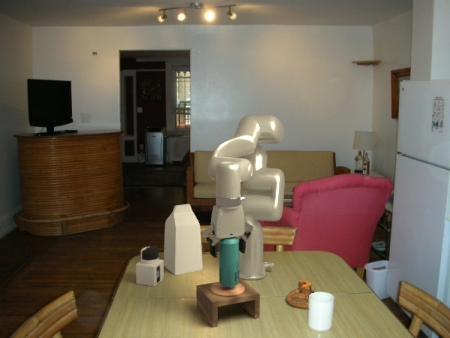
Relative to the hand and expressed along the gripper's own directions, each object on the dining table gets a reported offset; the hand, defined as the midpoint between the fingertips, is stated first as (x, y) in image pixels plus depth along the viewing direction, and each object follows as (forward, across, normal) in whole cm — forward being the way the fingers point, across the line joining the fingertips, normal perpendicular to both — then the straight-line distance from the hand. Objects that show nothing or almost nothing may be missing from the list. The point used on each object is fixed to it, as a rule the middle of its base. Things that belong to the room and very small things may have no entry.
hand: (228, 254), depth 151 cm
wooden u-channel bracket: (+20, 0, 0) cm, 20 cm away
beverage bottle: (+11, 0, 0) cm, 11 cm away
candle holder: (+20, -27, +3) cm, 34 cm away
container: (+20, +16, -34) cm, 43 cm away
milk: (+20, 0, -44) cm, 48 cm away
